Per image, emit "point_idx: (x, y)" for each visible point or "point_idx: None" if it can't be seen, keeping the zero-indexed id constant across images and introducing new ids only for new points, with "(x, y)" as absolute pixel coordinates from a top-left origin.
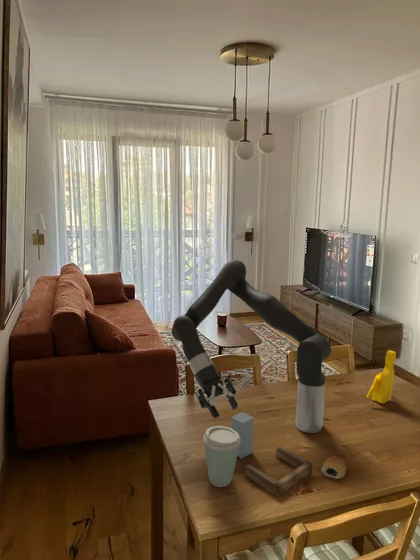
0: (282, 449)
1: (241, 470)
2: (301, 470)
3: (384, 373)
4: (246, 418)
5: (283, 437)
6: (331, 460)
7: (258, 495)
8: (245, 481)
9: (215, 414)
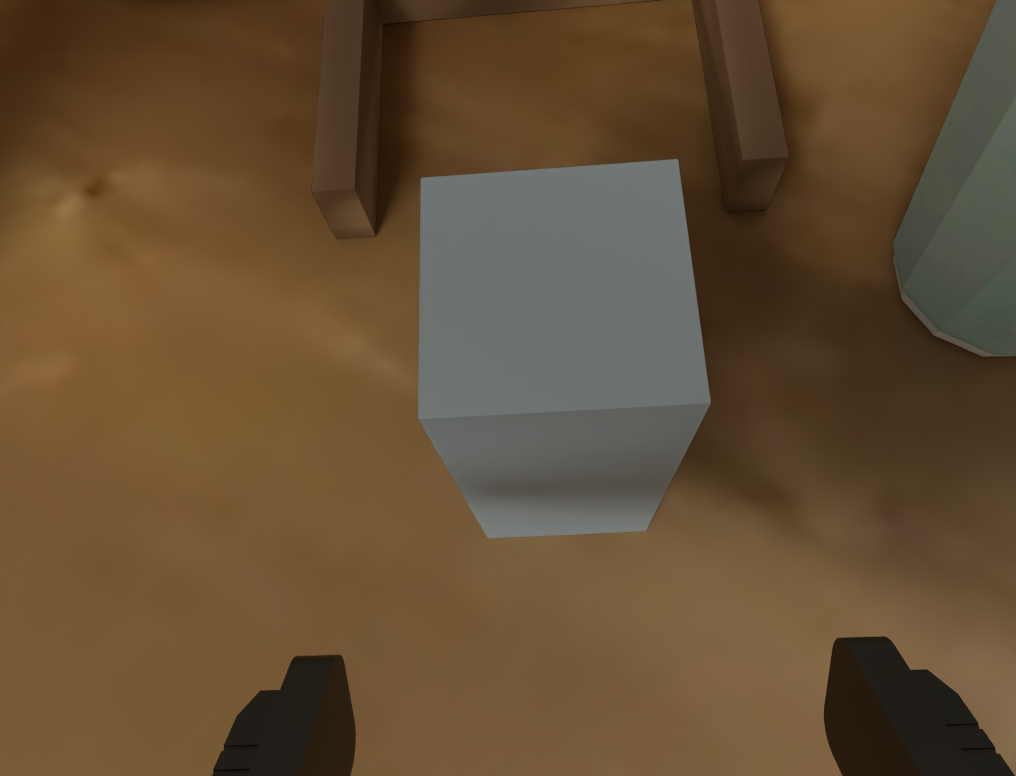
0: (336, 149)
1: (748, 270)
2: None
3: None
4: (530, 222)
5: (72, 389)
6: None
7: (827, 29)
8: (810, 164)
9: (925, 691)
